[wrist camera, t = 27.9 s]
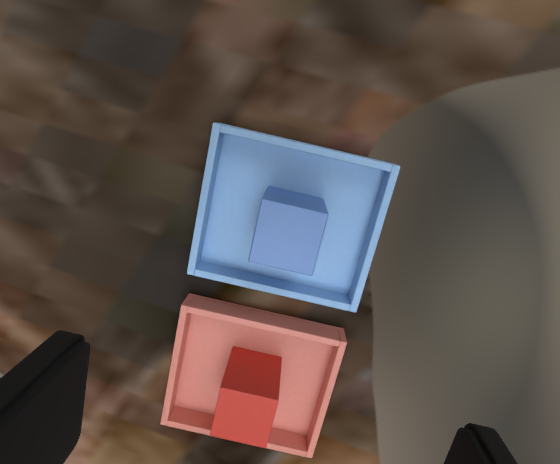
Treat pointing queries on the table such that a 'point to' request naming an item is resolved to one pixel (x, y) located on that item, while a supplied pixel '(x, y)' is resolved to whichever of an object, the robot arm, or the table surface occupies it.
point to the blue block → (289, 230)
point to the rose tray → (262, 338)
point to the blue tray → (299, 178)
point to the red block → (248, 397)
